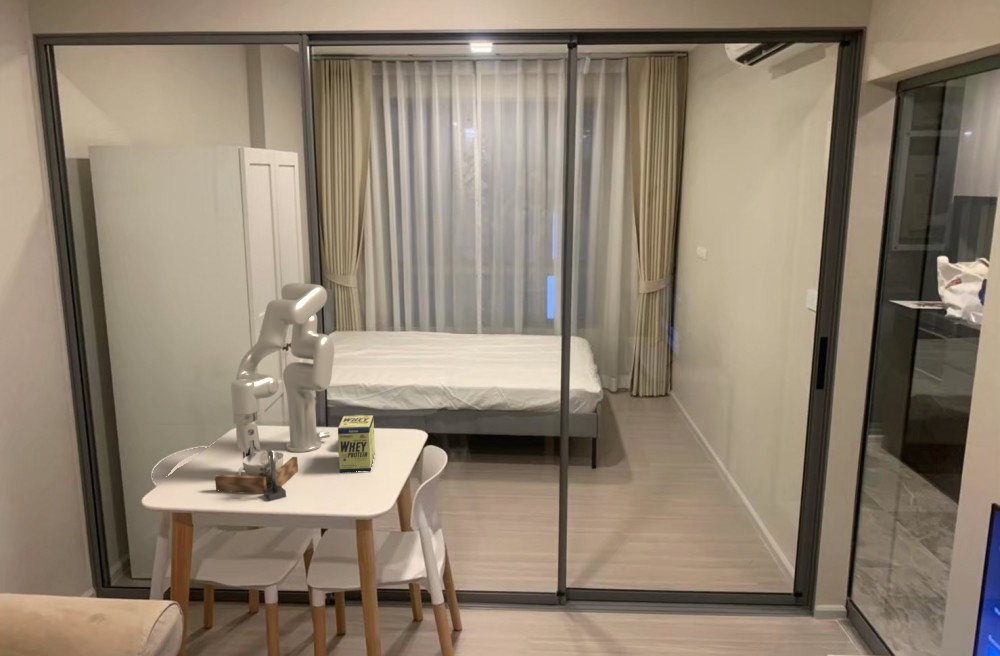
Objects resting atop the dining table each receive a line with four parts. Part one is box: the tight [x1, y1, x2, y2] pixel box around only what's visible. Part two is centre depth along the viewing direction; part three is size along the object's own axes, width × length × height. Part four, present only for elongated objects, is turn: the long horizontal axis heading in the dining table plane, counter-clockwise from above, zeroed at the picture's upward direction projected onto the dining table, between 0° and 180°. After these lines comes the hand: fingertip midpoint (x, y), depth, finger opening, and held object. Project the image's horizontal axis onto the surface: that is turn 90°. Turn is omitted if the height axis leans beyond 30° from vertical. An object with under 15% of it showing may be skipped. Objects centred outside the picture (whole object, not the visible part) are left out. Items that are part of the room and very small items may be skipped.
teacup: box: [237, 451, 284, 485], centre depth 229 cm, size 15×12×8 cm
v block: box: [214, 456, 299, 495], centre depth 226 cm, size 27×12×5 cm, turn 127°
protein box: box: [337, 413, 376, 474], centre depth 243 cm, size 10×16×16 cm
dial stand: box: [260, 449, 287, 502], centre depth 218 cm, size 5×6×14 cm
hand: (249, 469), depth 237 cm, fingers closed
